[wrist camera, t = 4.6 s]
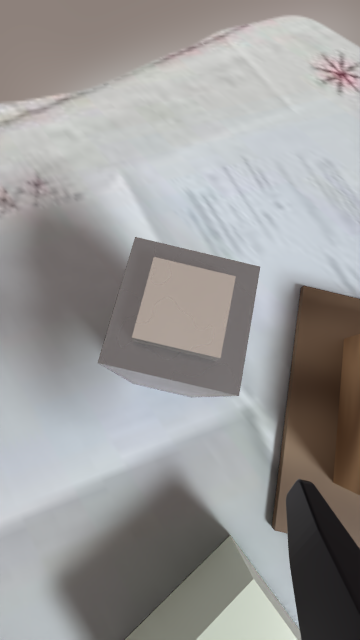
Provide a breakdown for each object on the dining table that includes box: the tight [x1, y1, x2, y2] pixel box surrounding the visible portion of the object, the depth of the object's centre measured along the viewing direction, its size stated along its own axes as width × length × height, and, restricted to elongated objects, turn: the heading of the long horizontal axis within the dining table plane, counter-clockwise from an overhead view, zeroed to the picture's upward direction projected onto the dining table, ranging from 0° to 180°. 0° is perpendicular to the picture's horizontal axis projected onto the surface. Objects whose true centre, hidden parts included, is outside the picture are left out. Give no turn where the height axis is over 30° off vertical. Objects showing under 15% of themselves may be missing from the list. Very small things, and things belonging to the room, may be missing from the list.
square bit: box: [98, 237, 260, 397], centre depth 14 cm, size 4×4×13 cm
